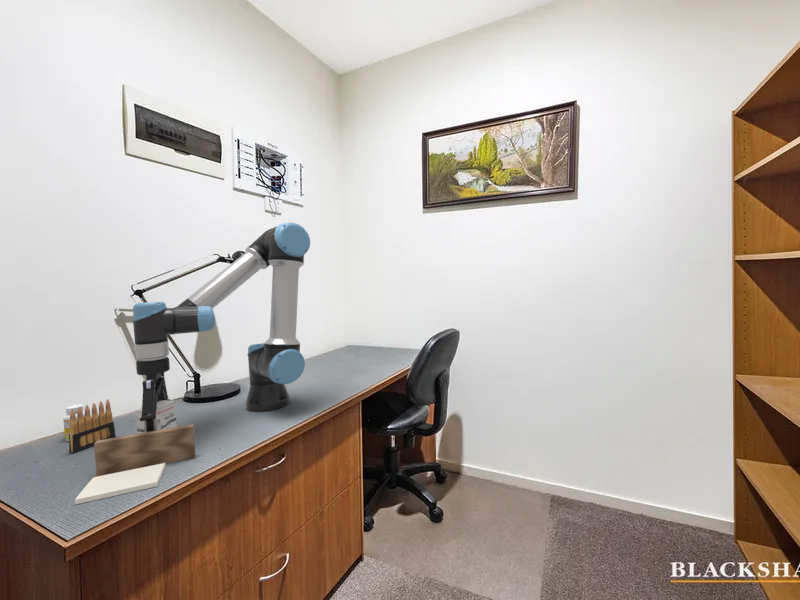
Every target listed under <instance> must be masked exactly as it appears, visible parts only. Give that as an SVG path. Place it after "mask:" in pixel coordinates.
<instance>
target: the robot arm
mask: <svg viewBox="0 0 800 600" xmlns="http://www.w3.org/2000/svg"><path fill="white" fill-rule="evenodd" d="M310 246H311V238H310V235H309V233H308V231H307V230H306V229H305V228H304V227H303V226H301V225H300V224H298V223H295V222H286V223H285V222H283V223H281V224H279V225H277V226H274V227H271V228H268V229H267V230H266V231H264V232H263V233H262V234H261V235H259V237H257V238H256V239H255V241H253V242H252V243H251V244H250V245H249V246H247V247H246V248H245V253H243V254H242V255H241V256H239V257H238V258H237V259H236V260H234V261H233V262H232V263H231V264H229V265H228V266H227V267H225V268H224V269H223V270H222V271H220V272H219V273H218V274H216V275H215V276H213V278H212V279H210V280H209V281H207V282H206V283H205V284H203V286H201V287H200V288H198V289H197V290H196V291H195V292H193V293H192V294H191V295H189V297H187V298H186V299H185V300H183V301H182V302H181V303H180V304H178V305H176V306H175V307H173V308H172V307H167V305H166V302H164V301H151V302H150V301H149V302H148V301H147V302H137V303H135V304H134V305H133V306H132V317H133V319H132V325H133V335H134V336H133V337H134V346H135V347H133V348H132V351H133V352H135V358H136V359H137V361H136V363H135V366H136V367H135V368H136V374H137V375H138V376H146V377H145V380H142V383H141V384H142V399H141V400H142V402H141V408H142V417H141V418H140V421H144V428H145V432H151V431H157V430H158V423H157V418H156V409H157V402H159V401H162V400H168V401H171V398H169V396H168V390H167V385H166V381H165V380H166V379H165V373H166V372H168V371H169V370H170V369H171V366H170V358H169V357H168V356H169V355H170V350H169V349H170V348H169V346H170V345H169V341H168V337H169V335H180V334H191V333H203V332H208V331H212V330H213V329H214V327H215V321H216V319H215V317H216V316H215V311H214V308H215V307H217V306H218V305H219V304H220V303H221V302H223V301H224V300H225V299H226V298H228V297H229V296H230V295H231V294H233V293H234V292H235V291H236V290H238V288H240V287H241V286H242V285H244V284H245V283H246V282H247V281H248V280H250V278H252V277H253V276H254V275H256V274H257V273H258V272H259V271H260V270H266V269H267V268H268V267H270V266H271V267H272V274H271V275H272V279H271V280H272V281H271V297H270V298H271V300H270V303H271V304H270V317H269V318H270V320H269V321H270V322H269V337H268V339H266V340H265V341H264V342H263V343H255V344H250V345H249V346H248V347H247V355H246V356H247V358H248V359H247V360H248V376H249V389H248V394H247V395H246V396H247V397H246V401H245V408H246V410H247V411H251V412H267V411H272V410H276V409H279V408H284V407H285V406H288V405H289V404H290V403H291V401H290V394H289V392H288V389H287V387H286V385H289V384H291V383H292V384H293V383H294V382H296V381H297V380H298V379H299V378H300V377H301V376H302V374H303V373H304V370H305V367H306V366H305V365H306V361H305V357H304V355H303V354H302V353H301V342H300V340H298V338H297V321H298V320H297V318H298V297H299V296H298V295H299V275H300V268H301V267H303V266H304V263H305V255H306V254H307V253H308V251H309V250H310ZM148 414H149V415H148Z"/></svg>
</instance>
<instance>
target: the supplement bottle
mask: <svg viewBox="0 0 800 600" xmlns="http://www.w3.org/2000/svg"><path fill="white" fill-rule="evenodd" d="M79 407H81V409H82V412H83V418H84V420H85V407H84V404H74V405H70V406H66V407H65V413H66V414H64V415H63V430H64V432H63V433H64V439H65V440H64V441H65V442H69V434H70V427H69V425H70V412H71V409H73V410H74V412H75V416H76V422H77V418H78V417H77V413H78V408H79Z"/></svg>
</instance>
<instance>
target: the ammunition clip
mask: <svg viewBox="0 0 800 600" xmlns="http://www.w3.org/2000/svg"><path fill="white" fill-rule="evenodd" d="M84 411H85V420H84V418H83V412H82V409H81V407H79V408H78V413H77V417H78V418H77V422H76V416H75V412H74V410H73V409H71V412H70V425H69V427H70V434H69V441H68V447H69V454H73V455H75V454H77V453H79V452H83V451H86V450H87V449H90V448H94V443H95V442H96V441H98V440H104V439H110V438H116V437H117V436H116V430H115V422H114V421H113V412H112V408H111V402H110V400H109V399H108V398H107V399H106V401H105V407H104V403H103V401H101V400H100V401H99V403H98V409H97V404H96V403H95V402H94V403H92V406H91V409H90V407H89V405H88V404H86V405H85V407H84Z"/></svg>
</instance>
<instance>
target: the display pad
mask: <svg viewBox="0 0 800 600" xmlns="http://www.w3.org/2000/svg"><path fill="white" fill-rule="evenodd" d="M165 470H166V464H165V463H162V464H157V465H152V466H147V467H142V468H137V469H132V470H127V471H122V472H117V473H112V474H107V475H103V476H98V477H97V476H93V477H91V478H92V479H91V480H89V482H88V483H87V484H86V486H84V488H83V489H82V490H81V491H80V492H79V494H78V495H77V496H76V498H74V505H75V506H76V505H80V504H83V503H88V502H93V501H98V500H101V499H107V498H111V497H115V496H119V495H124V494H129V493H134V492H138V491H142V490H147V489H151V488H155V487H158V484H159V483H160V481H161V478H162V476H163V474H164V471H165Z"/></svg>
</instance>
